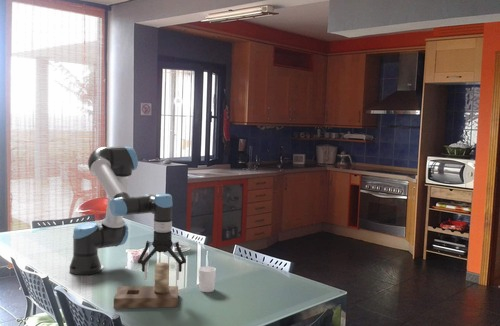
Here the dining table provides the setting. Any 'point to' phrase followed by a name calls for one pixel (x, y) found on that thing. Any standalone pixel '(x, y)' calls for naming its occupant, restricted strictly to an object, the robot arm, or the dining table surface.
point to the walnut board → (145, 297)
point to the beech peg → (161, 278)
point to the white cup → (207, 278)
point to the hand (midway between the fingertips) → (161, 279)
